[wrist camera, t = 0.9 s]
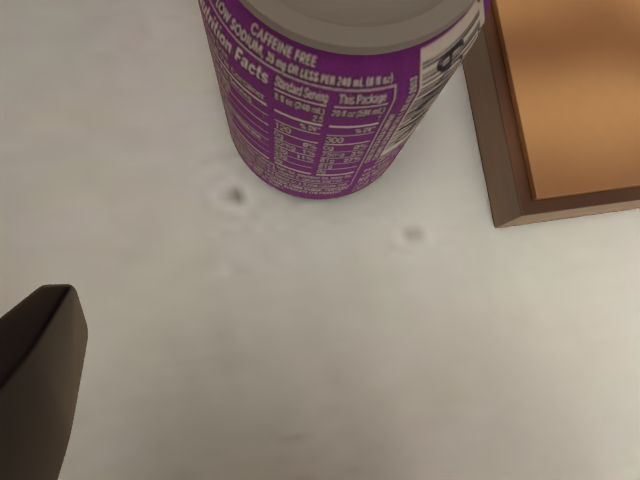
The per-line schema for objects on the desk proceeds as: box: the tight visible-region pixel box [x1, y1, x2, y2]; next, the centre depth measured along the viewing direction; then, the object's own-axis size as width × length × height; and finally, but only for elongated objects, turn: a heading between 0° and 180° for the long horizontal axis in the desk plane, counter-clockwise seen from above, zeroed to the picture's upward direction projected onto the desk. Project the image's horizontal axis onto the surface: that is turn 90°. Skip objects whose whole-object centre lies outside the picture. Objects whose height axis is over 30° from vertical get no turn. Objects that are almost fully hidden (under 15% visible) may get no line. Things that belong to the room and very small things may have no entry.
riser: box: [463, 0, 640, 228], centre depth 23 cm, size 11×11×3 cm
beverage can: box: [198, 0, 491, 199], centre depth 17 cm, size 7×7×12 cm
